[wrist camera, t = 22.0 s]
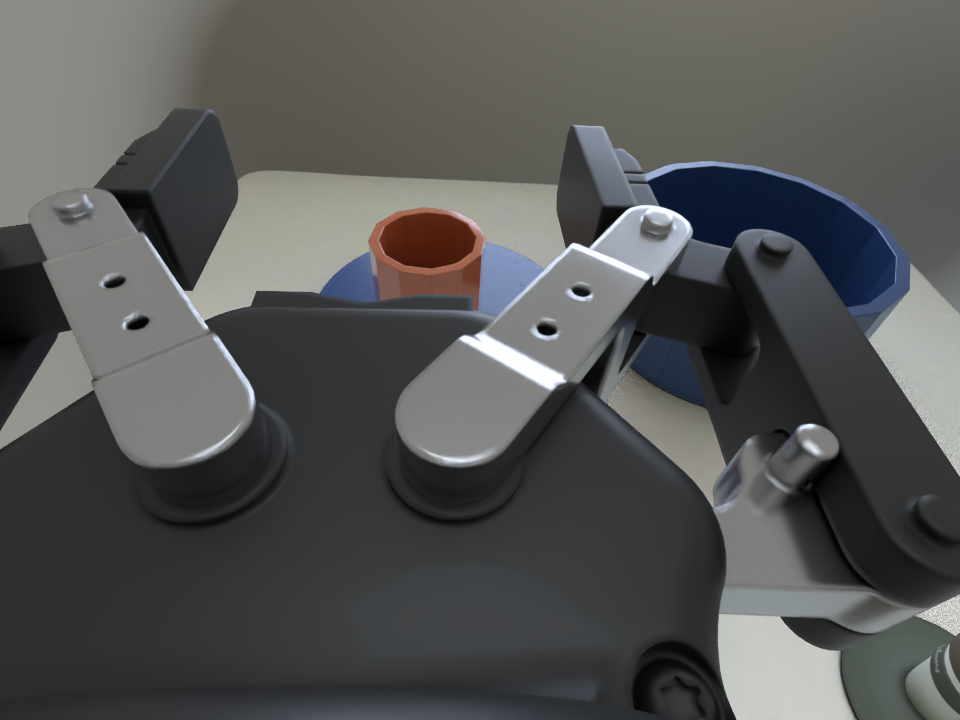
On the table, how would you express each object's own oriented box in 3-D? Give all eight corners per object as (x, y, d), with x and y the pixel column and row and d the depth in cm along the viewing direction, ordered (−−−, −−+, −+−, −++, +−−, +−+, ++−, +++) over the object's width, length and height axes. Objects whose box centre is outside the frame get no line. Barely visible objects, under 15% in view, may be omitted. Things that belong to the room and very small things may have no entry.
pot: (597, 394, 35) (630, 296, 29) (594, 242, 47) (617, 150, 41) (871, 431, 34) (966, 338, 28) (797, 267, 46) (852, 176, 40)
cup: (375, 396, 33) (355, 265, 25) (398, 332, 37) (387, 202, 29) (468, 410, 32) (475, 280, 25) (481, 343, 36) (491, 214, 29)
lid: (270, 405, 33) (247, 348, 29) (357, 236, 46) (349, 181, 42) (569, 448, 32) (586, 394, 28) (574, 263, 45) (586, 208, 41)
